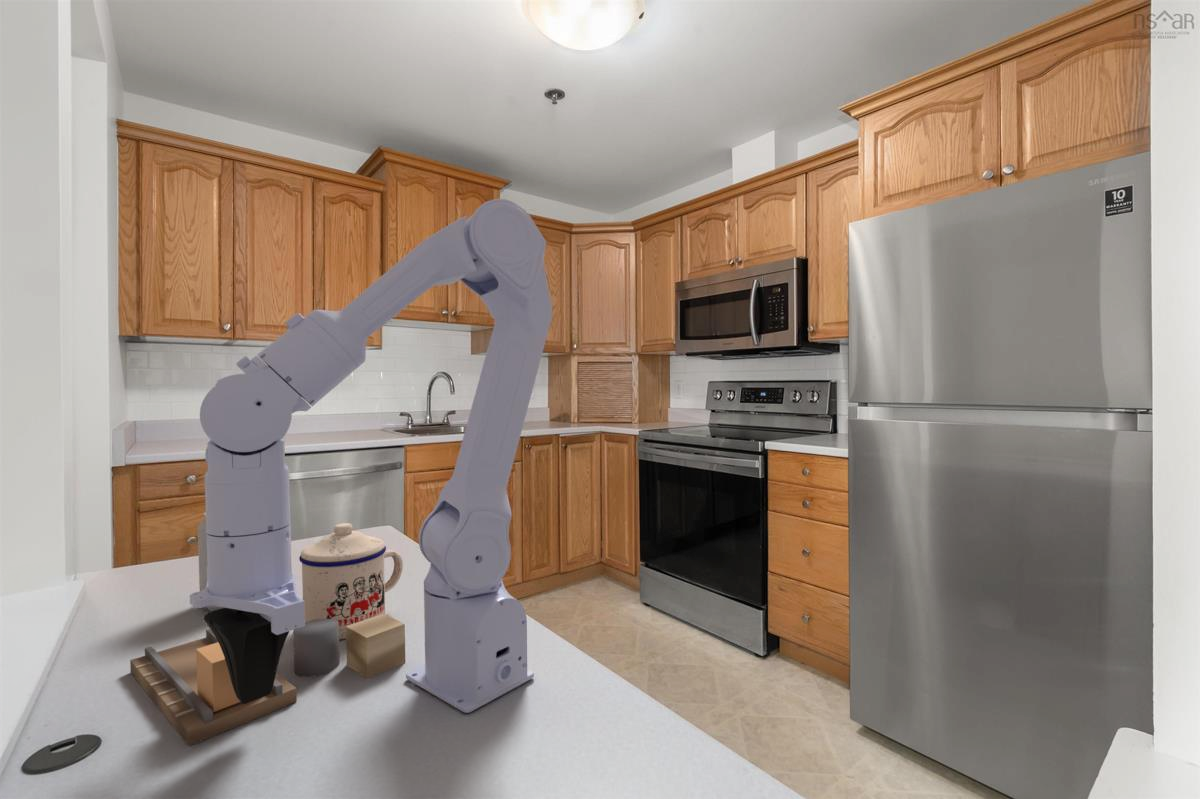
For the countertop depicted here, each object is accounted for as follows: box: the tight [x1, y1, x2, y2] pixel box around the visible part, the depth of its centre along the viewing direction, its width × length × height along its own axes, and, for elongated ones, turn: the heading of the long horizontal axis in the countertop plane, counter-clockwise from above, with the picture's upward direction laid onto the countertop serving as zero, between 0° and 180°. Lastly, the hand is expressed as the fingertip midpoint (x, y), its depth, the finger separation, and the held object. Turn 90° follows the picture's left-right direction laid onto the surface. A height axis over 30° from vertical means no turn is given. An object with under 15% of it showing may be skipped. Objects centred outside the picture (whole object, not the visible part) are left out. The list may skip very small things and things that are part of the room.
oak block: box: [345, 613, 406, 679], centre depth 58 cm, size 4×4×4 cm
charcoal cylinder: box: [292, 619, 340, 678], centre depth 57 cm, size 4×4×4 cm
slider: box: [196, 642, 241, 712], centre depth 50 cm, size 4×4×4 cm
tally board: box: [129, 628, 298, 747], centre depth 54 cm, size 18×8×2 cm, turn 50°
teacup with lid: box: [298, 522, 404, 640], centre depth 68 cm, size 12×9×12 cm
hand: (254, 696), depth 46 cm, fingers closed
